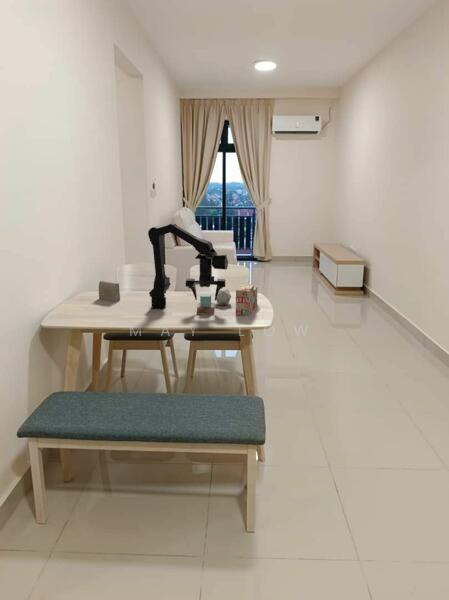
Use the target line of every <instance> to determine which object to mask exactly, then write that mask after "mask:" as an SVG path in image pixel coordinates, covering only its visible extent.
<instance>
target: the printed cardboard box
mask: <svg viewBox="0 0 449 600" xmlns="http://www.w3.org/2000/svg"><path fill="white" fill-rule="evenodd" d="M257 305H258V286H255V285H254V284H246V283H245V284H243V283H241V284H240V286H239V287H238V288H237V289H236V290H235V316H236V315H237V316H250V315H251V313H252V311H253V310H254V309H255V308H256V306H257Z"/></svg>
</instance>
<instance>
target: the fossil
mask: <svg viewBox="0 0 449 600" xmlns="http://www.w3.org/2000/svg"><path fill="white" fill-rule="evenodd" d="M98 300H103V301H110V302H115V303H116V302H121V293H120V282H119V283H118V282H112V281H105V280H100V281H99V282H98Z"/></svg>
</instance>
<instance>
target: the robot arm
mask: <svg viewBox="0 0 449 600" xmlns="http://www.w3.org/2000/svg"><path fill="white" fill-rule="evenodd" d="M170 233H171V234H172V235H174V236H176V237H177V238H179V239H181V240H183V241H184V242H186V243H188V244H190V245H191V246H192V247H193V249H195V251H197V252H198V253H197V255H196V256H195V259H196V260H199V277H198V280H196V278H186V280H185V287H188V289H190V290H191V292H192V294H193V296H194V300H195V301H197V297H198V295H197V286H198V285H199V287H200V288H209V287H211V286H212V285H213V286H214V285H215V286H216V288H215V294H214V301H216V298H217V295H218V292H219V290H220V289H224V288H225V287H226V279H225V278H217V280H215V276H214V275H213V273H212V271H213V269H214V270H225V271H226V270H228V267H229V266H228V265H229V260H228V255H227V254H218V253H217V251H216V250H215V248H214V245H213V243H212V242H211V241H209V240H206V239H203V238H200V237H197V236H195V235H194V234H192V233H191V232H189V231H187V230H185V229H184V228H182V227H180V226H179V225H178V224H176V223H170V224H168V225H165V226H161V225H157V226H153V227H151V228H149V229H148V232H147V236H148V239H149V242H150V244H151V245H152V249H153V250H152V251H153V252H152V253H153V263H154V273H155V276H154V279H153V280H154V281H153V288H152V289H151V290H150V291H149V292H148V294H149V297H150V298H151V299H150V301H151V307H150V309H151V310H152V309H161V310H162V309H163V310H164V309H165V308H166V306H167V297H166V293H167V291H168V290H169V289H170V286H171V281H170V280H171V277H170V276H167V275H166V270H165V269H166V268H165V267H166V266H165V256H164V249H163V248H164V247H163V245H164V241H165V235H167V234H170ZM196 285H197V286H196ZM216 302H217V301H216Z"/></svg>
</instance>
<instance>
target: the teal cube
mask: <svg viewBox="0 0 449 600" xmlns="http://www.w3.org/2000/svg"><path fill="white" fill-rule="evenodd" d="M199 299H200V300H199V301H200V302H199V303H200V307H211V303H212V294H211V293H200V295H199Z"/></svg>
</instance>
